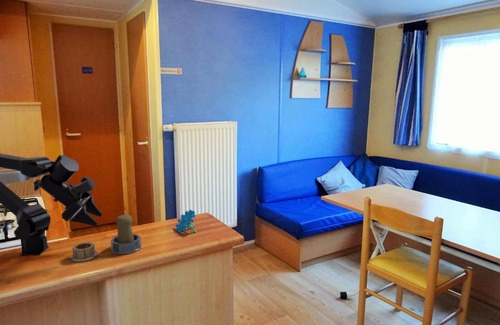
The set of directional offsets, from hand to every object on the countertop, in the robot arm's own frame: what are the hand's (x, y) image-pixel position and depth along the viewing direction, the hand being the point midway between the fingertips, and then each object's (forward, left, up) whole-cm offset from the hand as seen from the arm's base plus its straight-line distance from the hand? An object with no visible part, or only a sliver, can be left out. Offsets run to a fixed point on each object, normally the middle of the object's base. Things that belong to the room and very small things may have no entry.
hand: (99, 220), depth 116 cm
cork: (+8, +1, -10) cm, 13 cm away
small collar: (-4, -4, -11) cm, 12 cm away
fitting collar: (+8, +1, -11) cm, 13 cm away
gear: (+27, +16, -11) cm, 33 cm away
